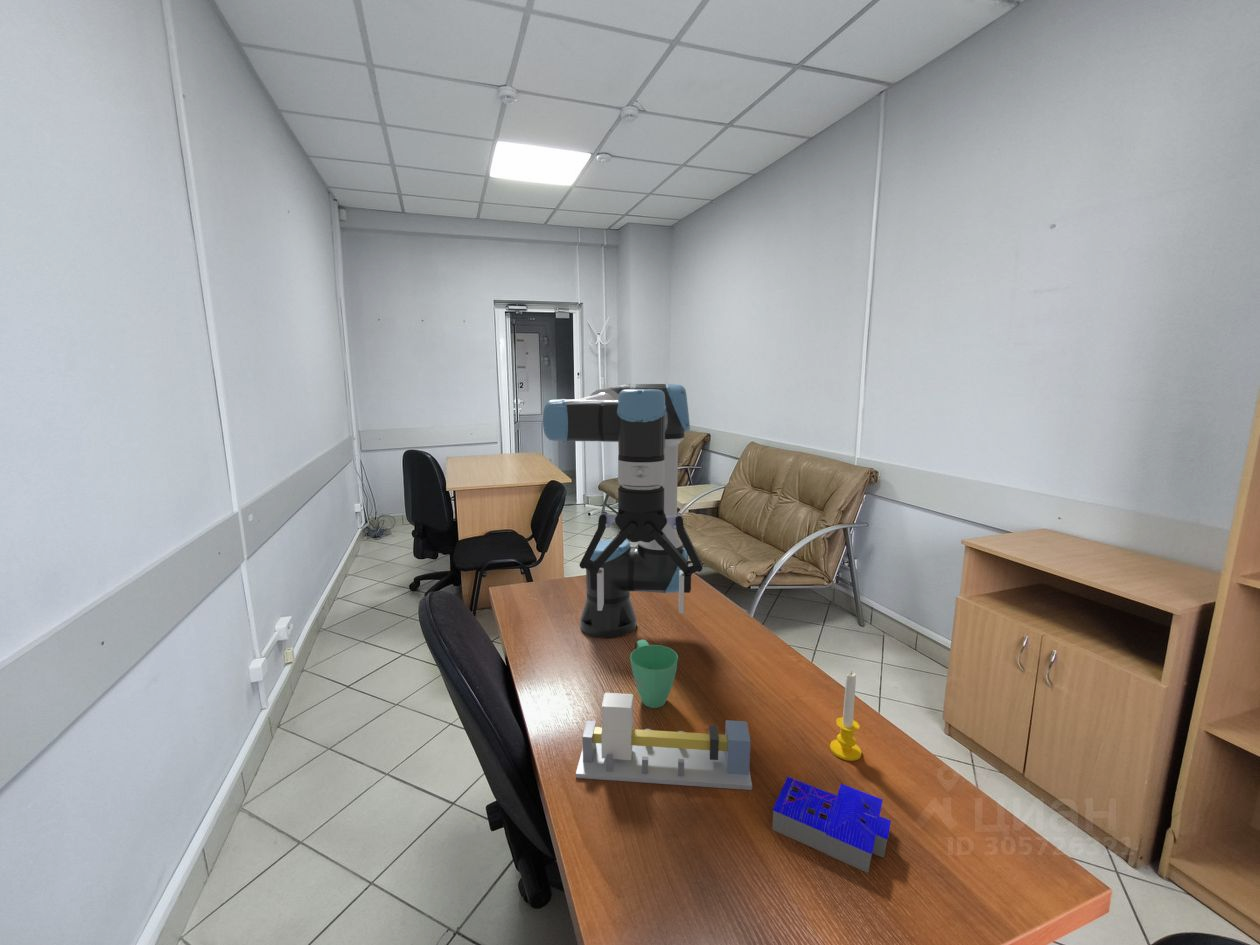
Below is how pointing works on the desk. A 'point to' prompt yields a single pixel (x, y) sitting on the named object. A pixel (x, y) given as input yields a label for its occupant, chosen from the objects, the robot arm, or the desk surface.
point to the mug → (653, 672)
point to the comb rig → (673, 757)
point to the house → (833, 821)
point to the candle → (847, 725)
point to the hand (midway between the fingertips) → (640, 608)
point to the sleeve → (617, 725)
